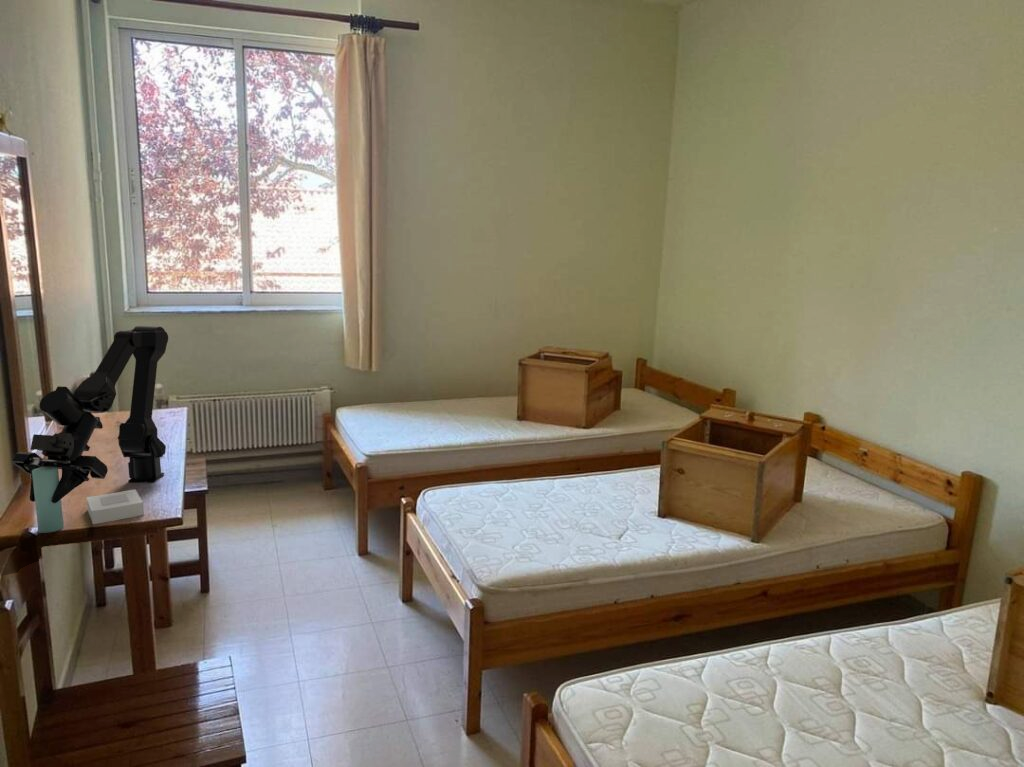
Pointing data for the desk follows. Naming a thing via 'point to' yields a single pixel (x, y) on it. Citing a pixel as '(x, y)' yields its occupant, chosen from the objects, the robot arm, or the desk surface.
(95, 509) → the plinth
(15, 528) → the desk surface
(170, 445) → the desk surface
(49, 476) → the pillar
